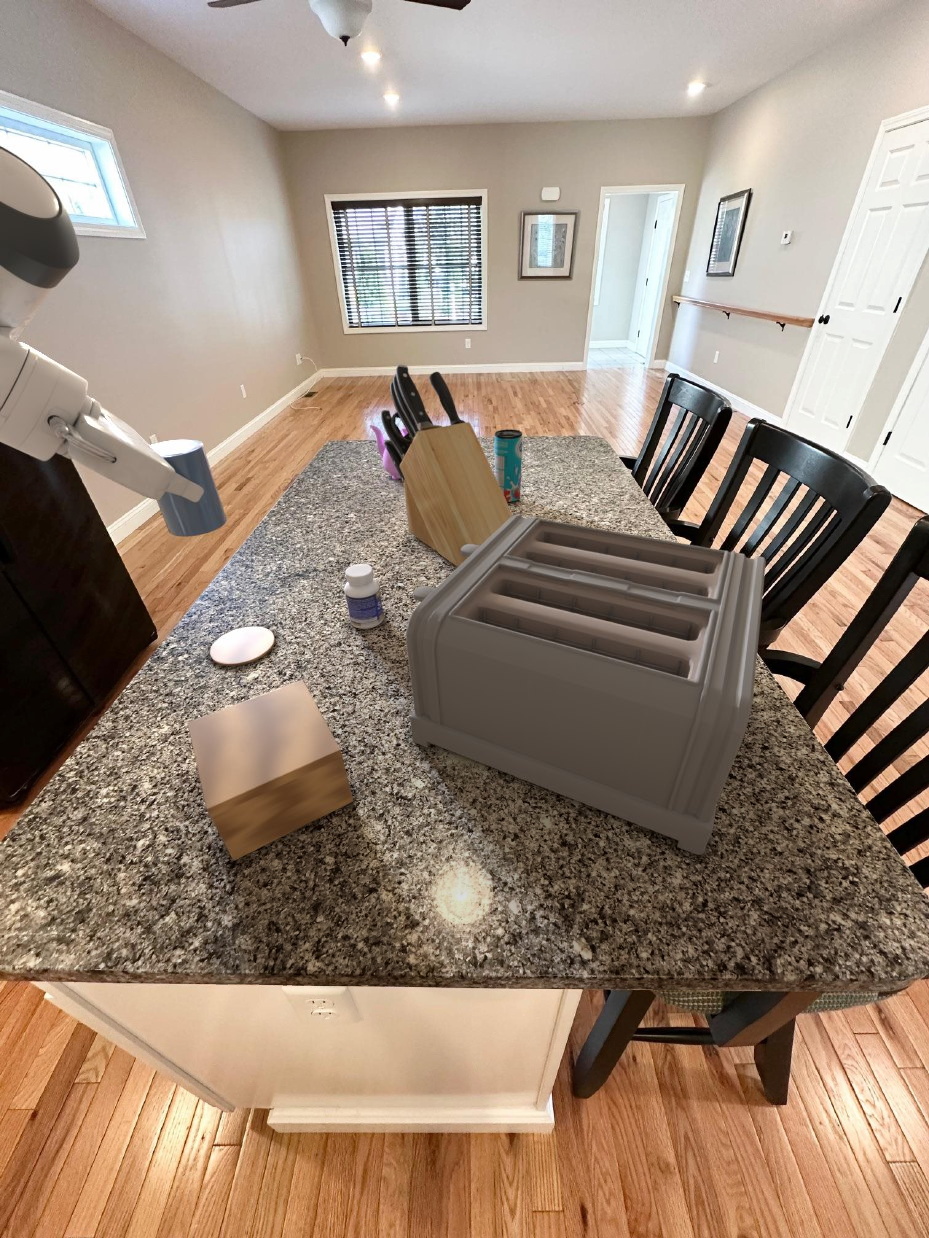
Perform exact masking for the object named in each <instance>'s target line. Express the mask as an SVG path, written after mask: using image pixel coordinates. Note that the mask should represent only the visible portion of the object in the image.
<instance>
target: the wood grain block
mask: <svg viewBox="0 0 929 1238" xmlns="http://www.w3.org/2000/svg"><path fill="white" fill-rule="evenodd" d="M186 723H187V729H188V733H189V736H190V741H191V746H192V750H193V756H194V760H195V765H196V768H197V773H198V777H199V781H200V786H201V790H202V796H203V800H204V804H205V809H206V811H207V814H208V815H209V818H210V820H211V821H212V823H213V824H214V826H215V829H216V830H217V831H218V834H219V836H220V838H221V840H222V842H223V843H224V846H225V847H226V849H227V851H228V853H229V855H230V857H231V859H232V861H236V860H239V859H240V858H242V857H244V856H247V855H248V854H251V853H253V852H254V851H256V850H259V849H261V848H262V847H264V846H266V845H268V844H270V843H273V842H274V841H277V840H279V839H280V838H282V837H285V836H287V835H289V834H290V833H292V832H295V831H297V830H299V829H301V828H303V827H305V826H307V825H309V824H311V823H313V822H315V821H317V820H318V819H319V820H320V819H322V818H323V817H324V816H327V815H329V814H331V813H333V812H335V811H337V810H339V809H341V808H343V807H345V806H347V805H349V804H351V803H353V802H354V797H353V793H352V790H351V786H350V781H349V778H348V774H347V769H346V766H345V762H344V761H345V760H344V758H343V754H342V750H341V748H340V746H339V744H338V742H337V740H336V738H335V737H334V735H333V733H332V731H331V729H330V727H329V725H328V724H327V721H326V719H325V718H324V715H323V714H322V712H321V710H320V708H319V707H318V705H317V702H316V701H315V699H314V697H313V695H312V693H311V691H310V689H309V688H308V686H307V683H306V682H305V680H304V678H303V679H300V680H297V681H294V682H292V683H289V684H286V685H283V686H280V687H278V688H275V689H273V690H270V691H268V692H267V691H266V692H265V693H262V694H259V695H257V696H255V697H252V698H249V699H247V700H244V701H241V702H238V703H235V704H233V705H230V706H228V707H225V708H222V709H220V710H217V711H215V712H212V713H209V714H206V715H204V716H201V717H199V718H196V719H194V720H190V721H188V722H186Z"/></svg>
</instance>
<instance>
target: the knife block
mask: <svg viewBox="0 0 929 1238" xmlns="http://www.w3.org/2000/svg"><path fill="white" fill-rule="evenodd" d="M428 379H429V383H430V385H431V387H432V388H433V390H434V391H435V393H436V395H437V396H438V399H439V402H440V404H441V406H442V408H443V410H444V411H445V413H446V415H447V417H448V419H449V423H450V425H445V426H442V425H439V424H434V423H433V422H432V420H431V418H430V416H429V414H428V413H427V411H426V407H425V404H424V402H423V399H422V397H421V394H420V392H419V390H418V388H417V386H416V384H415V382H414V380H413V379H412V378H411V376H410V373H409V366H408V365H405V364H397V366H396V369H395V374H394V375H393V378H392V380H391V382H390V384H389V391H390V397H391V400H392V403H393V405H394V406H393V407H394V408H395V411H396V412H394V413H393V415H391V412H390V411H391V410H387V409H382V410H381V412H380V418H381V423H382V426H383V428H384V431H385V433H386V435H387V437H388V439H387V440H384V441H385V442H384V444H385V447H386V449H387V451H388V453H389V455H390V457H391V459H392V461H393V463H394V465H395V467H396V469H397V471H398V473H399V475H400V477H401V478H400V480H401V481H402V483H403V491H404V500H405V510H406V517H407V518H406V519H407V527H408V528H407V529H408V532H409V533H410V534H412V536H414V537H415V538H417V539H418V540H420V541H421V542H422V543H424V544H426V546H428V547H430V548H431V549H433V550H434V551H437V553H438V554H439V555H440V556H442V557H443V558H445V559H446V560H447V561H449V562H450V563H452V564H453V565H454V566H456V568H458V567H459V566H460V565H461V564H462V563H463V562H464V561H465V560H466V559H467V558H468V557H466V556H463V555H462V554H461V548H462V547H463V546H464V545H467V544H474V545H479V546H481V545H482V544H483V543H484V542H485V541H486V540H487V539H488V538H489V537H490V536H491V535H493V534H494V533H495V532H496V531H497V530H498V529H499V528H500V527H501V526H502V525H503V524H504V523H505V522H506V521H507V520H508V519H509V518H511V517H512V516H513V515H514V514H513V513H512V510H511V508H510V506H509V504H507V501H506V499H505V497H504V495H503V493H502V490H501V488H500V486H499V484H498V482H497V480H496V478H495V472H494V471H493V469H492V466H491V465H490V462H489V460H488V458H487V456H486V454H485V452H484V449H483V447H482V445H481V443H480V440H479V438H478V436H477V435H476V432H475V430H474V428H473V426H472V423H470V422H469V421H465V420H464V419H461V418H460V417H459V414H458V411H457V407H456V404H455V401H454V399H453V396H452V393H451V391H450V388H449V387H448V385H447V383H446V381H445V379H444V377H443V376H442V374H441V372H440V371H435V372H432V373H431V374H430V375H429V377H428ZM397 419H399V420H400V421H401V423H402V424H403V427H405V428H406V430H407V432H408V433H407V434H406V435H405V436H404V437H403V435H402V433H401V431H402V430H401V429H400V428H399V426H398V424H397V423H396V421H397ZM389 439H390V440H391V441H390V440H389Z"/></svg>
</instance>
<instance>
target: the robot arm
mask: <svg viewBox="0 0 929 1238" xmlns="http://www.w3.org/2000/svg"><path fill="white" fill-rule="evenodd" d="M79 260H80V247H79V242H78V238H77V234H76V230H75V227H74V225H73V222H72V220H71V218H70V215H69V213H68V211H67V208H66V207H65V205H64V203H63V201H62V200H61V198H60V196H59V194H58V193H57V191H56V190H55V189H54V188H53V186H52V185H51V183H49V182H48V180H47V179H46V178H45V177H44V176H43V175H42V174H41V173H40V172H39V171H37V170H36V168H34V167H33V166H32V165H31V164H29V163H28V162H27V161H25V160H24V159H22V158H21V157H20V156H18V155H17V154H15V153H13V152H12V151H10V150H9V149H7V148H5V147H4V146H1V145H0V443H2V444H4V445H7V446H9V447H11V448H13V449H15V450H18V451H20V452H22V453H24V454H26V455H29V456H30V457H32V458H35V459H37V460H39V461H41V462H48V461H49V460H50V459H51V458H53V456H54V455H55V454H57V455H61V456H62V457H64V458H66V459H68V460H74V461H76V462H77V463H78V464H80V465H82V466H84V467H86V468H87V469H89V470H90V471H93V472H95V473H97V474H98V475H100V476H103V477H105V478H107V479H109V480H110V481H112V482H114V483H117V484H118V485H120V486H122V487H124V488H127V489H128V490H130V491H133V492H135V493H136V494H138V495H141V496H142V497H145V498H147V499H151V500H154V501H157V500H159V499H161V498H162V496H163V495H164V493H165V492H169V493H173V494H176V495H179V496H182V497H185V498H187V499H189V500H191V501H193V502H198V501H199V500H200V498H201V496H202V495H203V493H204V490H203V488H202V487H201V486H200V485H198V484H197V483H195V482H193V481H191V480H189V479H187V478H184V477H182V476H181V475H179V474H177V473H175V470H174V468H173V467H172V466H171V465H170V464H169V463H168V462H166V461H165V460H164V459H163V458H162V457H161V456H160V455H159V454H158V453H157V452H156V451H155V450H154V449H153V448H152V447H151V445H150V443H149V442H147V441H146V440H145V438H143V437H142V436H141V435H140V434H139V433H138V432H137V431H136V430H135V429H134V428H133V427H131V426H130V424H128V423H127V422H125V421H123V420H122V419H120V418H119V417H118V416H116V415H115V414H114V413H112V412H110V411H109V410H107V409H106V408H105V407H103V406H102V403H101V402H99V401H97V400H96V399H94V398H92V397H91V396H89V395H87V394H88V391H89V382H88V380H87V379H85V378H83V377H82V376H81V375H79V374H77V373H75V372H73V371H72V370H70V369H69V368H67V367H65V366H64V365H61V364H60V363H57V362H56V361H54V360H53V359H51V358H49V357H48V356H47V355H44V354H42V353H41V352H39V351H38V350H36V349H34V348H33V347H31V346H29V345H28V344H25V343H23V342H21V341H18V339H19V337H20V335H21V334H22V332H23V331H24V330H25V328H26V327H27V325H28V324H29V323H30V322H31V321H33V319H34V317H35V315H36V314H37V313H38V311H39V309H40V308H41V306H42V305H43V303H44V302H45V300H46V299H47V297H48V295H49V294H50V293H51V291H52V290H53V288H56V287H57V286H58V285H59V284H60V283H61V282H62V280H63V279H64V278H65V277H66V276H67V275H68V274H69V273H71V271H72V269H74V268H75V266H76V265H78V262H79Z"/></svg>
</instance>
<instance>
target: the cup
mask: <svg viewBox="0 0 929 1238" xmlns="http://www.w3.org/2000/svg"><path fill="white" fill-rule="evenodd" d="M150 446H151V447H152V448H153V449H154V450H155V451H156V452H157V453H158V454H159V455H160V456H161V457H162V458H163V459H164V460H165V461H166V462H168V463H169V464H170V465H171V466H172V467H173V468H174V470H175V473H177V474H179V475H181V476H182V477H184V478H187V479H189V480H191V481H193V482H195V483H197V484H198V485H200V486H201V487H202V488H203V490H204V493H203V495H202V496H201V498H200V500H199V501H198V502H193V501H191V500H189V499H187V498H185V497H182V496H179V495H176V494H173V493H169V492H165V493H164V495H163V496H162V498H161V499H159V500H156V503H157V506H158V508H159V511H160V513H161V516H162V519H163V520H164V524H165V525H166V529H167V531H168V533H169V534H171V535H172V536H175V537H183V538H184V537H185V538H186V537H187V538H188V537H197V536H202V535H205V534H209V533H212V532H215V531H217V530H219V529H220V528H222V527H223V526H224V525H226V523H227V521H228V520H227V515H226V513H225V512H226V511H225V510H224V507H223V502H222V500H221V497H220V493H219V491H218V487H217V484H216V482H215V478H214V474H213V472H212V468H211V466H210V463H209V460H208V457H207V453H206V450H205V447H204V444H203V442H202V441H199V440H195V439H176V440H168V441H162V442H158V443H155V444H151V445H150Z"/></svg>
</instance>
